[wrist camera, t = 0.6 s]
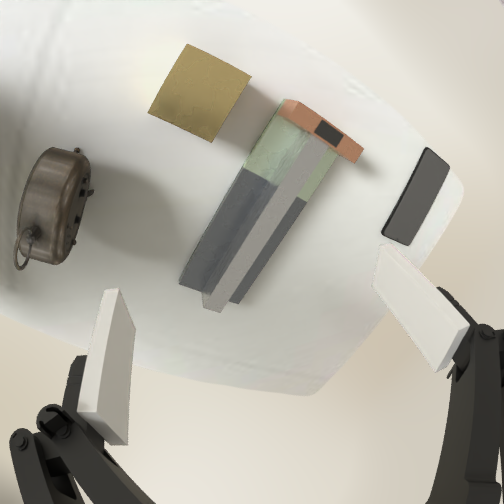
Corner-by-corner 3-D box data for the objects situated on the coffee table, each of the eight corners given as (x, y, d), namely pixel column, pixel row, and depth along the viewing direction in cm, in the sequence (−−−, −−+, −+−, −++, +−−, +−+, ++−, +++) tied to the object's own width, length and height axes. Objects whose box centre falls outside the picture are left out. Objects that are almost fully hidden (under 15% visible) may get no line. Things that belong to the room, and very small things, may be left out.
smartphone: (451, 166, 38) (408, 247, 44) (447, 164, 39) (405, 244, 45) (427, 146, 36) (381, 235, 42) (423, 144, 36) (378, 232, 43)
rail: (237, 300, 43) (243, 324, 39) (178, 280, 39) (179, 304, 35) (343, 139, 34) (364, 149, 30) (284, 98, 30) (299, 101, 26)
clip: (207, 133, 31) (211, 142, 26) (154, 108, 28) (147, 113, 23) (240, 78, 28) (251, 76, 23) (187, 51, 26) (187, 43, 20)
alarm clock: (68, 135, 27) (-12, 181, 13) (110, 146, 29) (52, 201, 15) (51, 220, 31) (-7, 305, 18) (89, 232, 33) (45, 325, 20)
